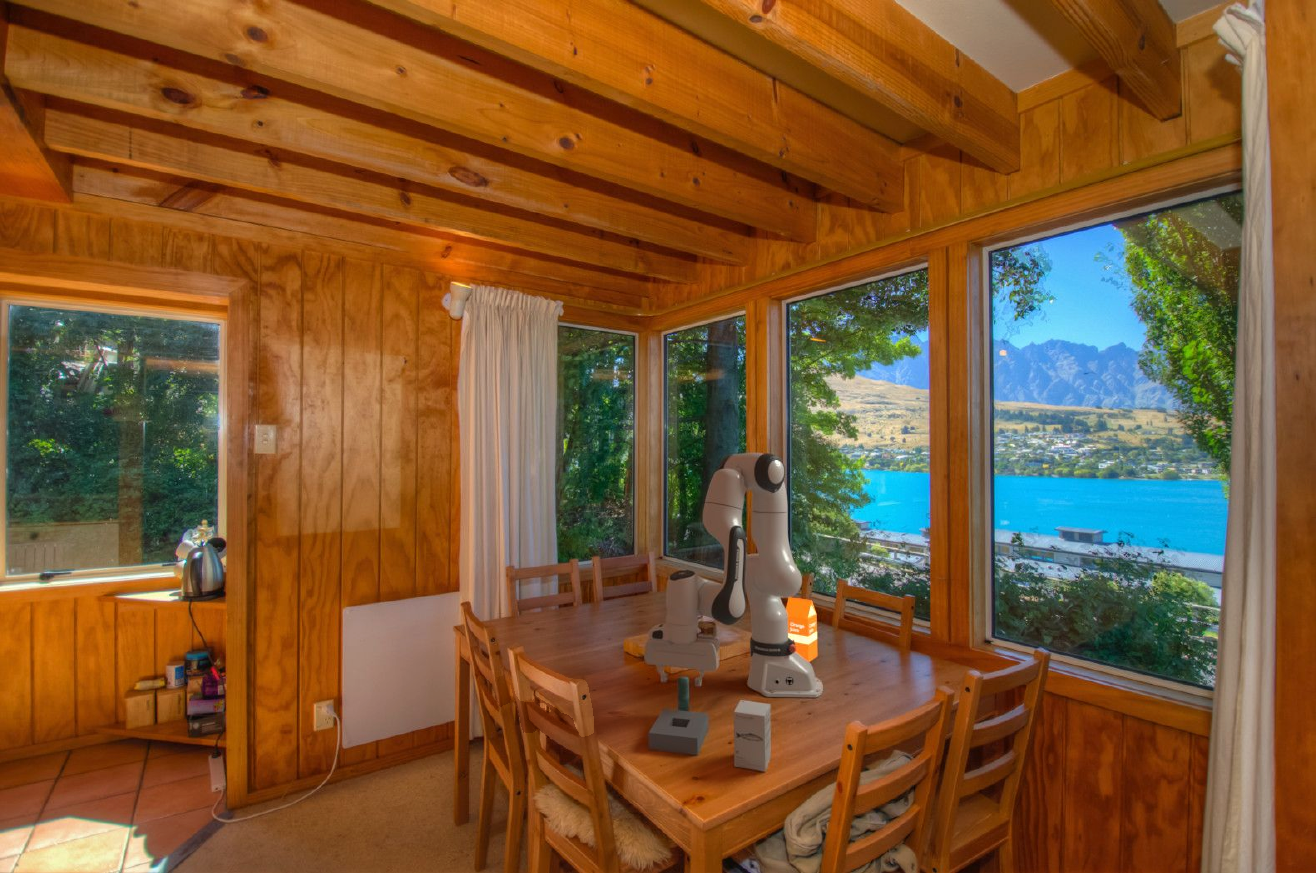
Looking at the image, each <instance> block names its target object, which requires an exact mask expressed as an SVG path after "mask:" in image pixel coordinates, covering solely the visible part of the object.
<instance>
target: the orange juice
mask: <svg viewBox="0 0 1316 873" xmlns="http://www.w3.org/2000/svg"><path fill="white" fill-rule="evenodd" d="M787 599H788V600H787V603H786V606H785V609H786V611H787V614H788V638H790V639H791V640H792V641H793V639H794V642H795V646H796V651H795V652H797V653H798V654H799V655H800V656H802V657H803V658H804V659H806V660H807V661H808V662H809V663H810V662H811V661H814V659H816V658H818V624H817V623H818V619H817V616H818V614H817V612H816V609H815V606H814V602H813V600H812V599H806V598H805V599H804V598H798V597H793V596H792V597H788V598H787Z"/></svg>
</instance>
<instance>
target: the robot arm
mask: <svg viewBox="0 0 1316 873" xmlns="http://www.w3.org/2000/svg"><path fill="white" fill-rule="evenodd" d="M785 477H786V468H785V464H784V462H783V460H782V459H781V458H780V457H779V456H778V455H776V454H773V453H769V452H767V453H762V452H751V451H750V452H747V453H731V454H727V455H726V456H724V457H723V458H722V460H721V461H720V463H719V465H718V469H717V470H716V471H715V472H714V474H713V476H712V478H711V481H710V483H709V486H708V489H707V493H706V496H705V501H704V506H703V510H702V524H703V526H704V528H705V530H706V531H707V532H708V533H709V535H710V536H712V537H713V538H714V539H716V540H717V541H718V542H719V543H720V544H721V546H722V548H723V551H724V563H723V564H724V567H723V582H722V583H720V582H716V581H714V580H711V579H710V580H709V579H707V578H703V577H702V576H700V575H698V574H697V573H696V572H695V571H694V570H689V569H684V570H683V569H681V570H677V571H673V573H671V574H670V575H669V577H668V578H667V582H666V588H665V589H666V590H665V607H666V616H665V623H660V624H656V625H654V626H652V627H651V629H649V631H648V638H649V639H647V641H646V642H645V647H644V656H643V657H644V662H645V664H646V665H650V666H651V665H653V666H656V670H657V671H658V673H659V675H660V682H661V683H667V682H668V676H669V675H668V673H665V671H664V669H663V668H664V667H668V668H669V667H670V668H678V669H687V670H688V669H689V670H698V673H699V674H700V675H699V676H698V677H695V679H694V686H695V687H701V686H702V682H703V680H702V678H703V677H704V675H705V673H706V672H715V671H716V670H717V669H718V668H719V667H720V666H719V665H720V659H719V650H720V647H721V646H720V639H719V638H718V637H717V636H715V635H714V634H710V633H709V634H706V633H699V616H704V617H707V618H710V619H713V620H715V621H717V622H719V623H721V624H724V625H726V626H730V625H733V624H734V625H735V623H737V622H738V621H739V620H740V619H741V618H742V617H743V616H744V614H745V612H746V609H747V599H748V604H749V609H750V610H749V611H750V623H751V625H750V626H751V636H750V637H749V638H750V640H749V652H750V657H751V659H750V669H749V674H748V677H747V678H748V679H747V681H746V684H747V686H748V687H749V688H750V689H751V690H753V691H756V692H758V693H760V694H761V695H763V696H764V697H767V698H768V697H769V698H773V697H774V698H818V697H820V696H821V695H822V694H823V691H824V685H823V682H822V680H821V679H820V678H818V677H817V676H816V673H815V671H814V670H815V669H814V666H812V664H811V663H810V662H808V661H807V660H806V659H804V658H803V657H802V656H800V655H799V654H798V653H797V652H795V651H796V646H795V642H794V639H793V641H792V640H791V639H790V638H788V614H787V611H786V606H784V603H783V601H782V599H783V598H786V599H788V598H789V597H792V598H793V597H794V596H795V595H797V594H798V593H799V591H800V590H801V587H802V584H803V576H802V573H801V571H800V569H798V566H797V565H796V563H795V561H794V557H793V554H792V551H791V547H790V542H789V534H788V532H789V531H788V530H789V526H788V522H789V521H788V514H789V513H788V508H789V506H788V495H787V488H786V484H785V482H784V480H785ZM747 491H751V505H750V506H751V508H750V509H751V510H750V514H751V515H750V518H751V520H750V536H751V539H752V541H753V543H754V544H755V548H756V551H757V553H750V554H747V550H748V549H747V545H748V544H747V535H746V530H744V528H743V510H744V504H745V494H746V493H747ZM746 596H747V597H746Z"/></svg>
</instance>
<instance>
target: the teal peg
mask: <svg viewBox="0 0 1316 873" xmlns="http://www.w3.org/2000/svg"><path fill="white" fill-rule="evenodd" d="M689 684H690V678H689V677H687V676H679V677H677V710H681V711H690V688H689V687H690V685H689Z"/></svg>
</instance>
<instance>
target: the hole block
mask: <svg viewBox="0 0 1316 873" xmlns="http://www.w3.org/2000/svg"><path fill="white" fill-rule="evenodd" d="M709 719H710V718H709V713H708V712H701V711H700V712H699V711H691V710H689V711H681V710H678V709H671V708H663V709H662V710H661V712H660V714H659V715H658V717H657V719H656V720H655V721H654V723H653V724H652V727H651V728H650V730H649V731H648V750H651V751H659V752H664V753H665V752H667V753H676V754H684V755H691V756H698V755H699V753H700V751H701V748H702V746H703V743H704V741H705V738H706V737H707V734H708V732H709V729H710V728H709V726H710V725H709V722H710V721H709Z"/></svg>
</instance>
